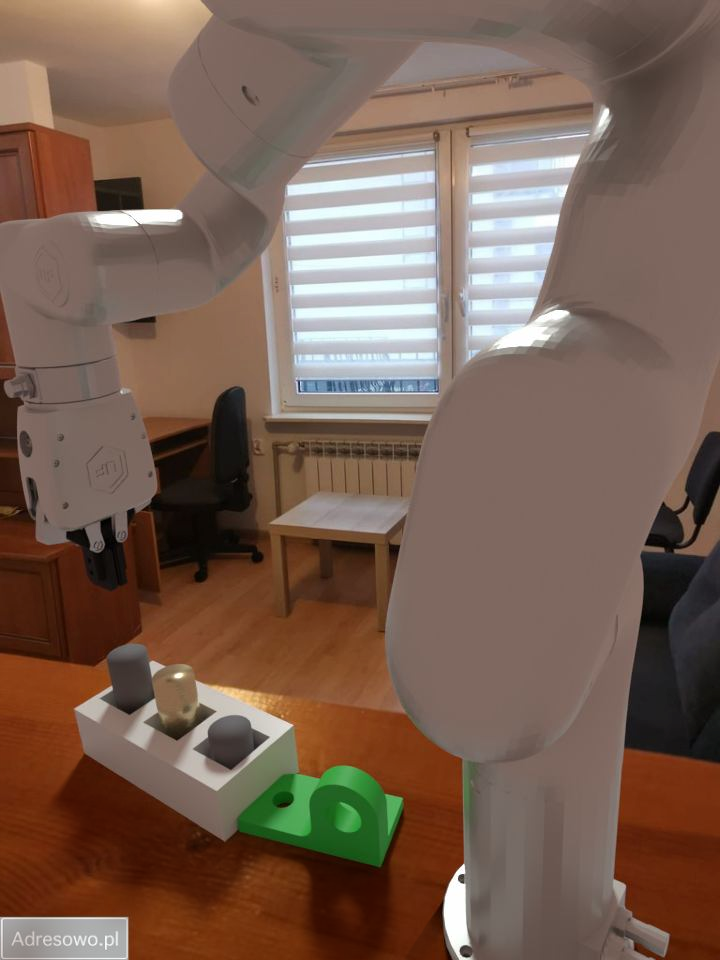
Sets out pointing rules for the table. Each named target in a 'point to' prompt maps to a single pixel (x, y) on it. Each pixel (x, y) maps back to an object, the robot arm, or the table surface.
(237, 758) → the near knob
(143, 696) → the far knob
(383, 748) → the table surface
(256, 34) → the robot arm
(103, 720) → the white peg holder block
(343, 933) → the table surface
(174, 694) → the brass knob
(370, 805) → the mechanical part
